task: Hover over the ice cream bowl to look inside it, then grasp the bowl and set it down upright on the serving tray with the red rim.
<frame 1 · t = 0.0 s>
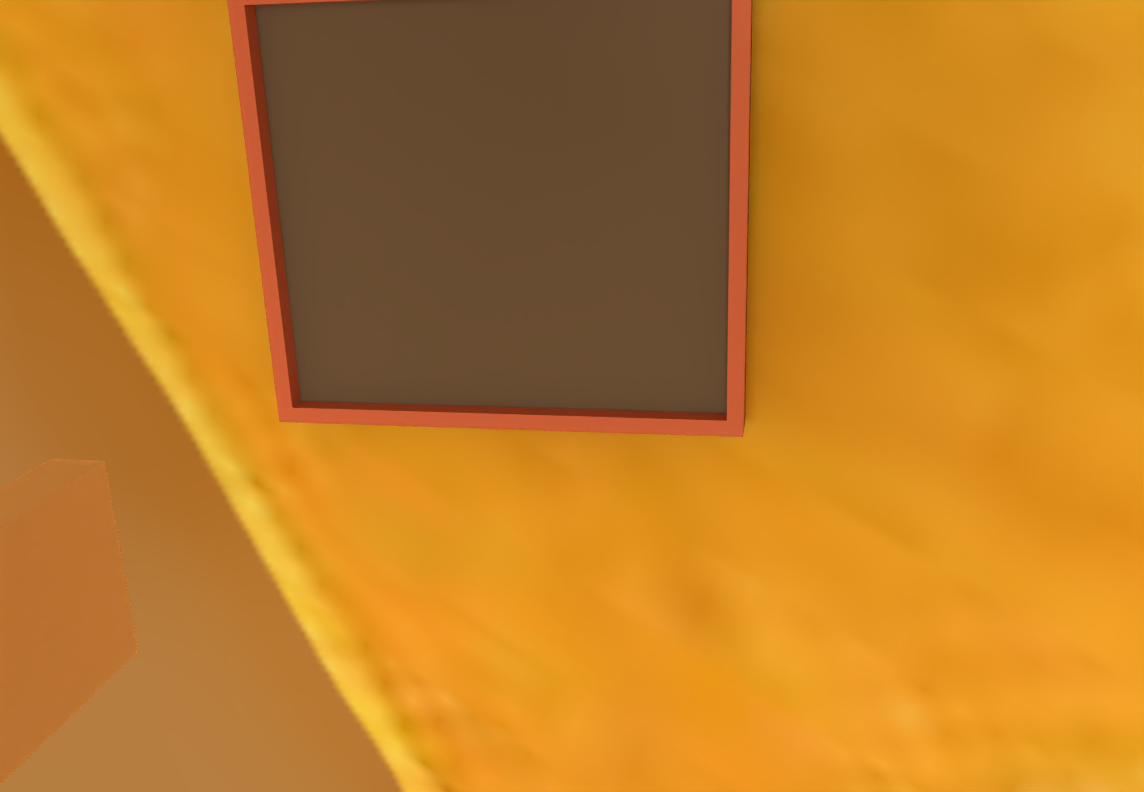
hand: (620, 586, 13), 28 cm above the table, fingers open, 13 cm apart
serving tray: (502, 209, 40), on the table
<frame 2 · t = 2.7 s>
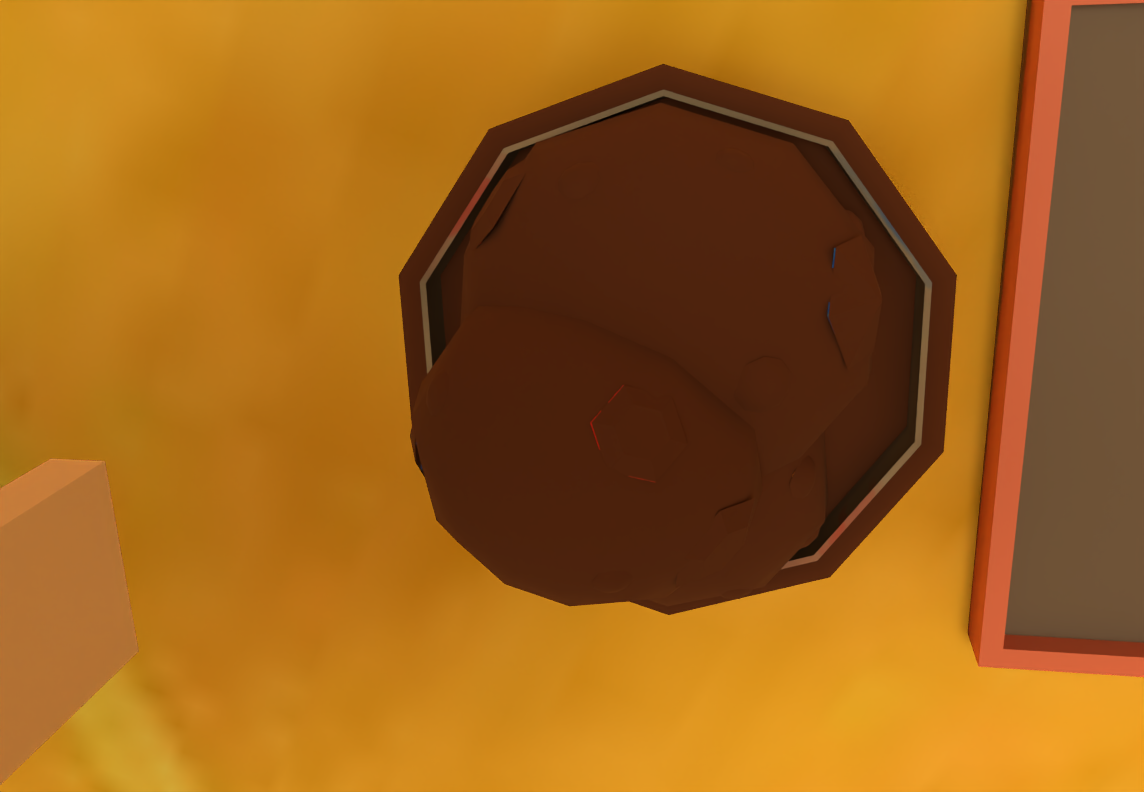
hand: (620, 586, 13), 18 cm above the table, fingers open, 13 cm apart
ice cream bowl: (697, 262, 30), on the table
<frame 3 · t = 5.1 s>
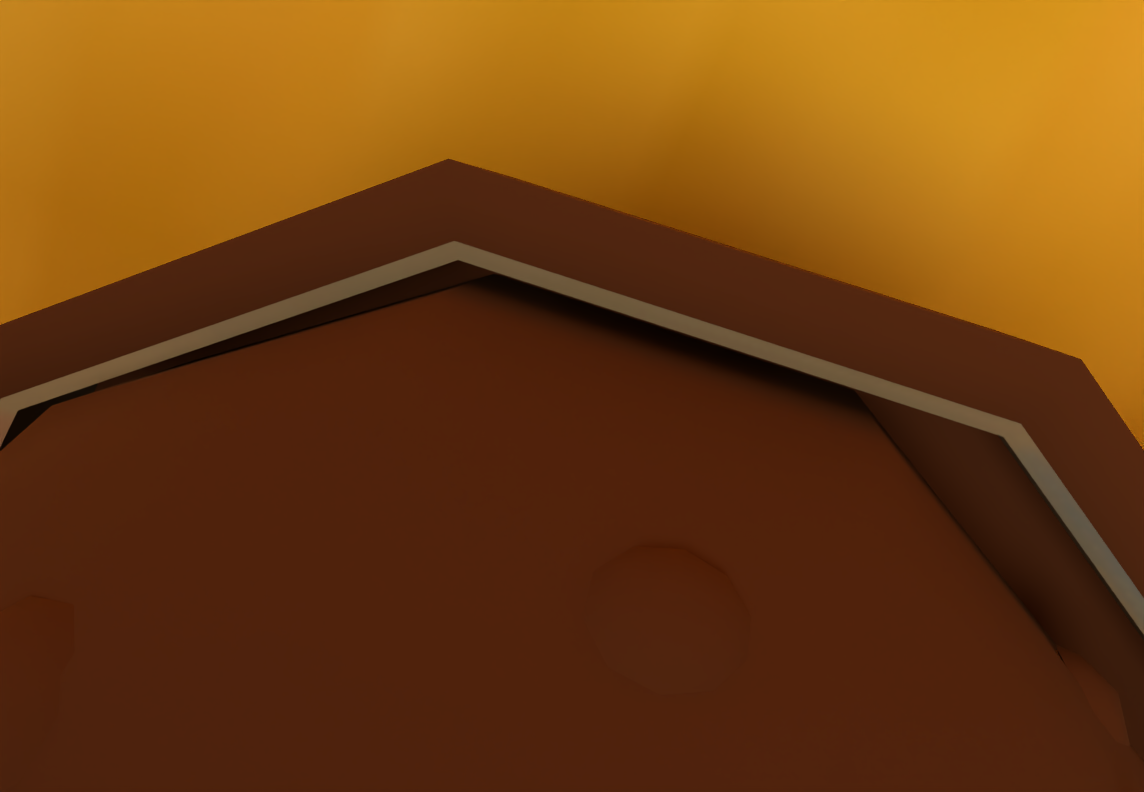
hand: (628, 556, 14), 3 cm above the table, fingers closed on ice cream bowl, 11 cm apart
ice cream bowl: (655, 462, 17), on the table, touching gripper
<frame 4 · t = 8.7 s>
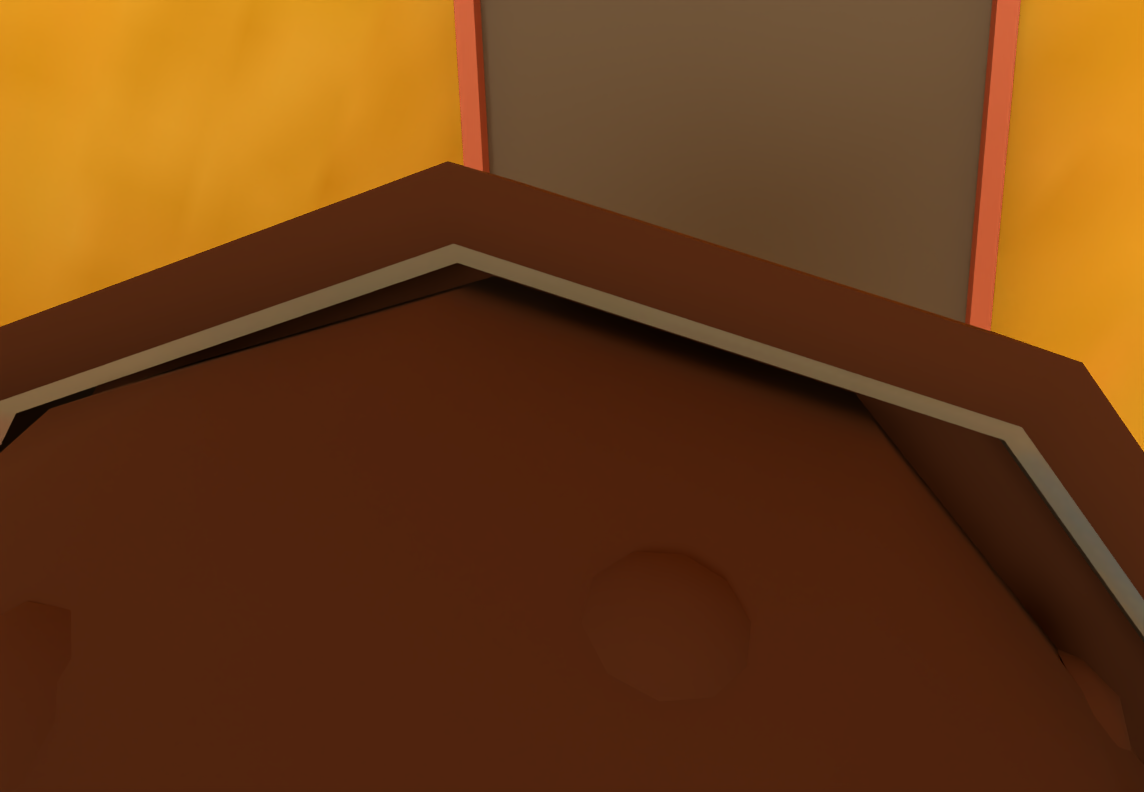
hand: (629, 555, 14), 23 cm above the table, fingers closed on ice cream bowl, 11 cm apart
ice cream bowl: (655, 463, 17), point 20 cm above the table, touching gripper
serving tray: (724, 233, 35), on the table
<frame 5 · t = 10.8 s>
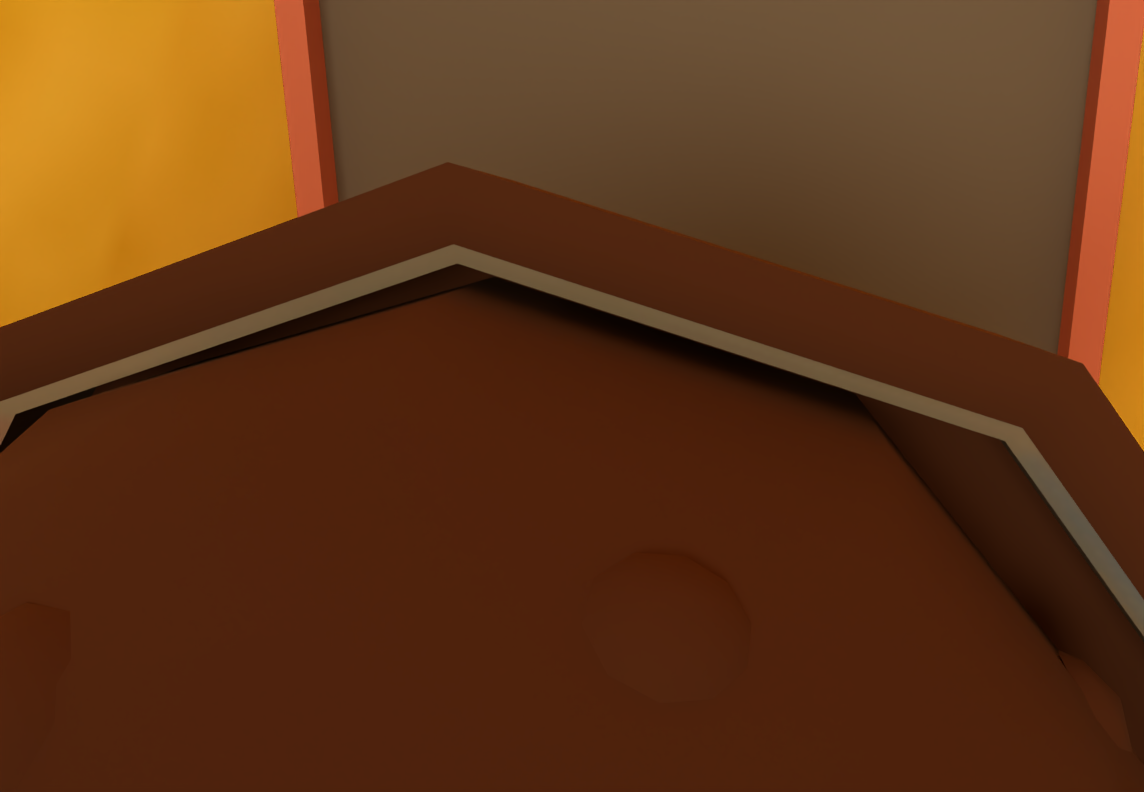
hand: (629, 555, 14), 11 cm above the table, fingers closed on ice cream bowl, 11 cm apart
ice cream bowl: (655, 463, 17), point 8 cm above the table, touching gripper
serving tray: (688, 327, 24), on the table
when the fingers open (6 cm above the table, at t = 12.5 s): ice cream bowl drops 2 cm, resting on serving tray.
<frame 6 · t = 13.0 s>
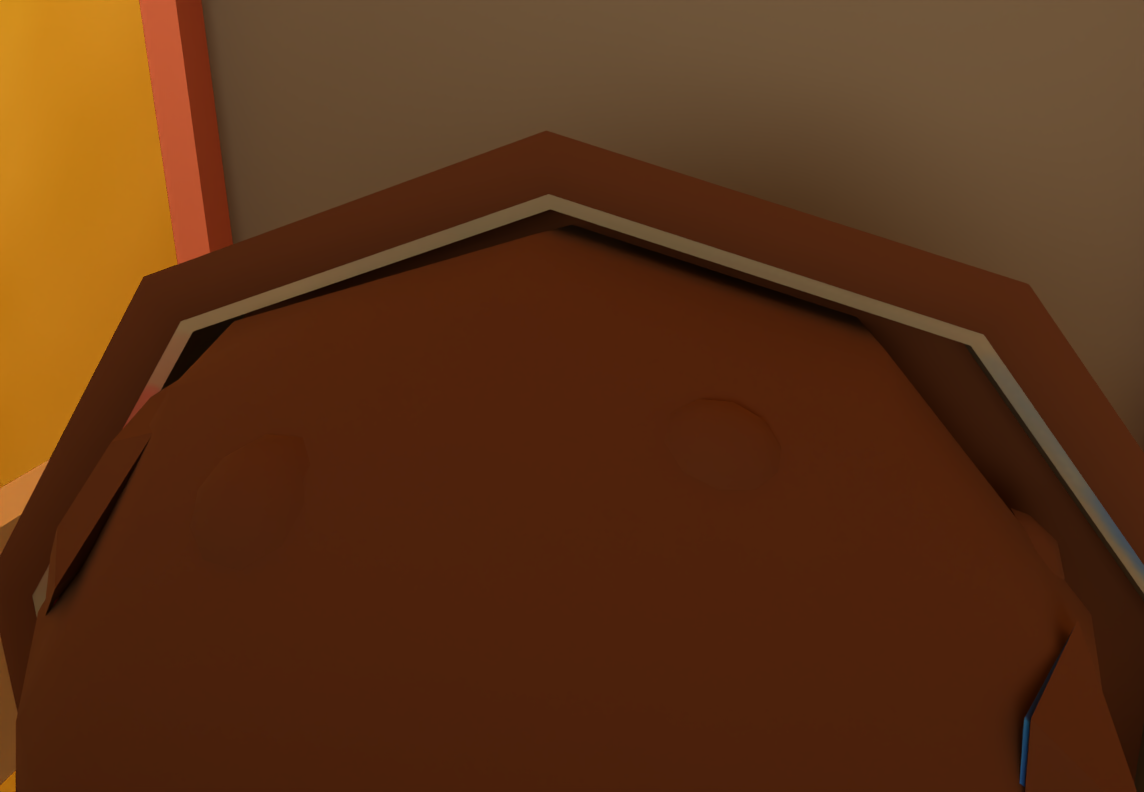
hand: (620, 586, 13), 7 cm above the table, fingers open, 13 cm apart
ice cream bowl: (679, 420, 18), point 1 cm above the table, touching serving tray
serving tray: (673, 404, 19), on the table
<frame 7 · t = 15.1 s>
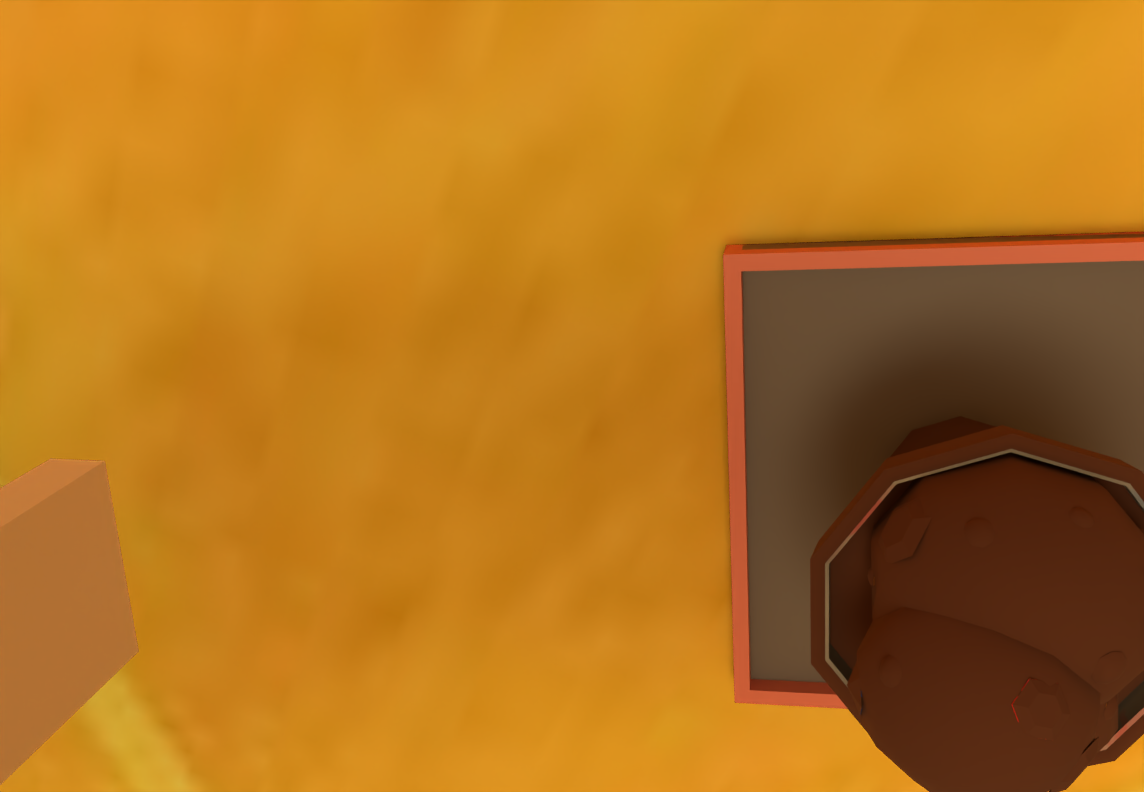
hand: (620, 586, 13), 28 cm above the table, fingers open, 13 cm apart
ice cream bowl: (956, 486, 40), point 1 cm above the table, touching serving tray
serving tray: (948, 477, 41), on the table
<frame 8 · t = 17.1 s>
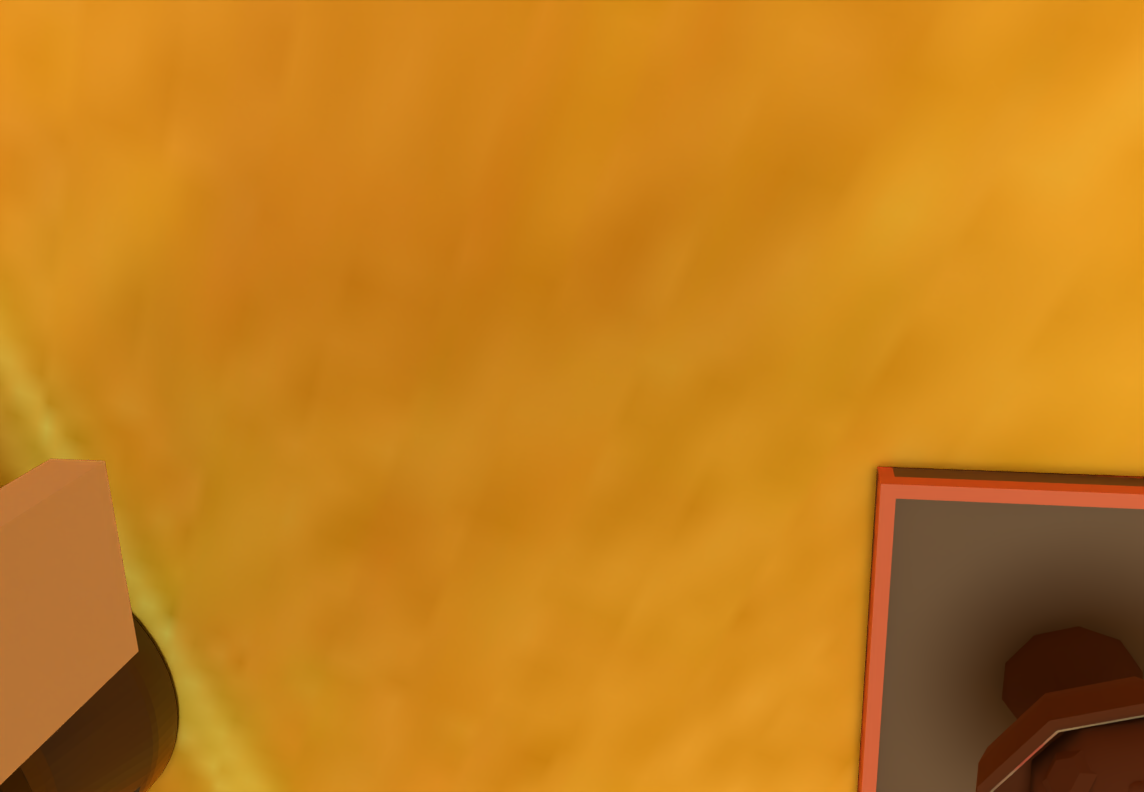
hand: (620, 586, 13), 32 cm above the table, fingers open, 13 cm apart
ice cream bowl: (1069, 682, 45), point 1 cm above the table, touching serving tray
serving tray: (1060, 671, 46), on the table
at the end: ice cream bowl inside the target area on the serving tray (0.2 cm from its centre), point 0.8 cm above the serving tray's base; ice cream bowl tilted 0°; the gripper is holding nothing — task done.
